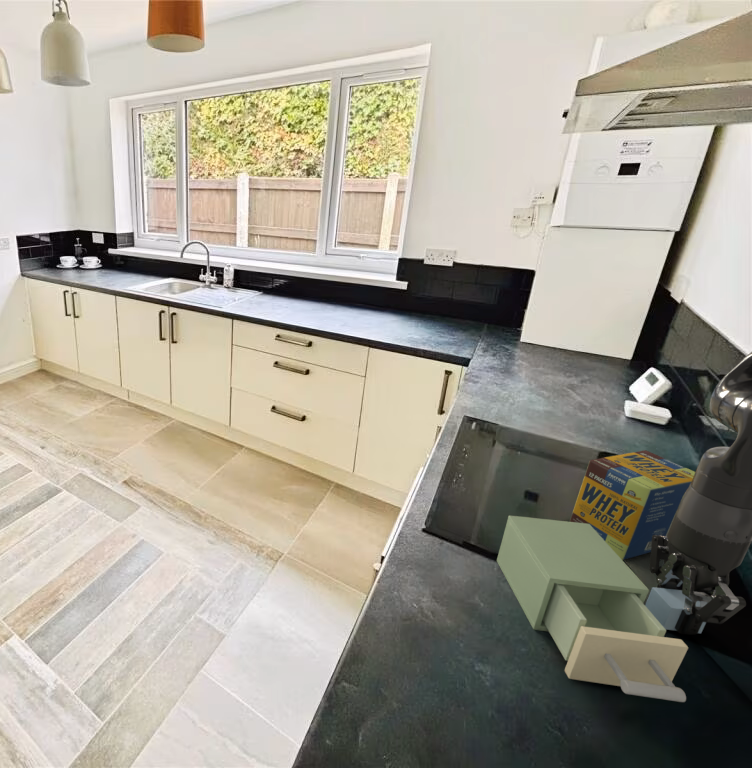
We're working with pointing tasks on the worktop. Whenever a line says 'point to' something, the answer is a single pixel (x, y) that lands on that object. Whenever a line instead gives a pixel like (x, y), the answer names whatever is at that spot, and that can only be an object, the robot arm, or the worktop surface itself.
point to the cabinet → (559, 563)
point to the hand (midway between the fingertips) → (672, 618)
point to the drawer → (614, 641)
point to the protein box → (631, 499)
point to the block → (667, 606)
